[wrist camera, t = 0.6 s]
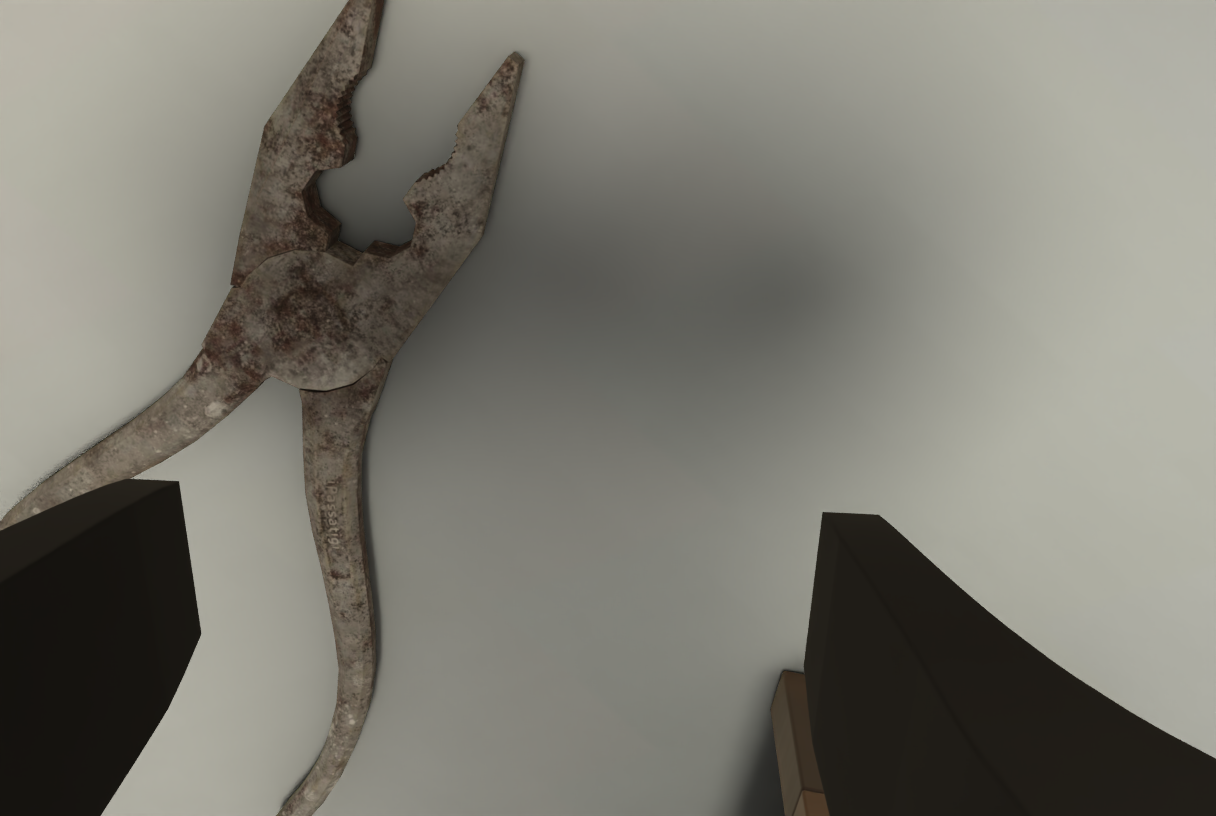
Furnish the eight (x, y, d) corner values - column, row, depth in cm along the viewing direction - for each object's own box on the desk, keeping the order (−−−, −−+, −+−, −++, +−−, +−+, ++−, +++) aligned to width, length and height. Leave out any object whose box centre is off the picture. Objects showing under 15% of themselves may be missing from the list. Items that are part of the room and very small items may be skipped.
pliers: (-69, 759, 26) (-31, -143, 18) (-47, 735, 26) (-2, -141, 19) (328, 860, 26) (536, 34, 18) (338, 833, 27) (541, 29, 19)
